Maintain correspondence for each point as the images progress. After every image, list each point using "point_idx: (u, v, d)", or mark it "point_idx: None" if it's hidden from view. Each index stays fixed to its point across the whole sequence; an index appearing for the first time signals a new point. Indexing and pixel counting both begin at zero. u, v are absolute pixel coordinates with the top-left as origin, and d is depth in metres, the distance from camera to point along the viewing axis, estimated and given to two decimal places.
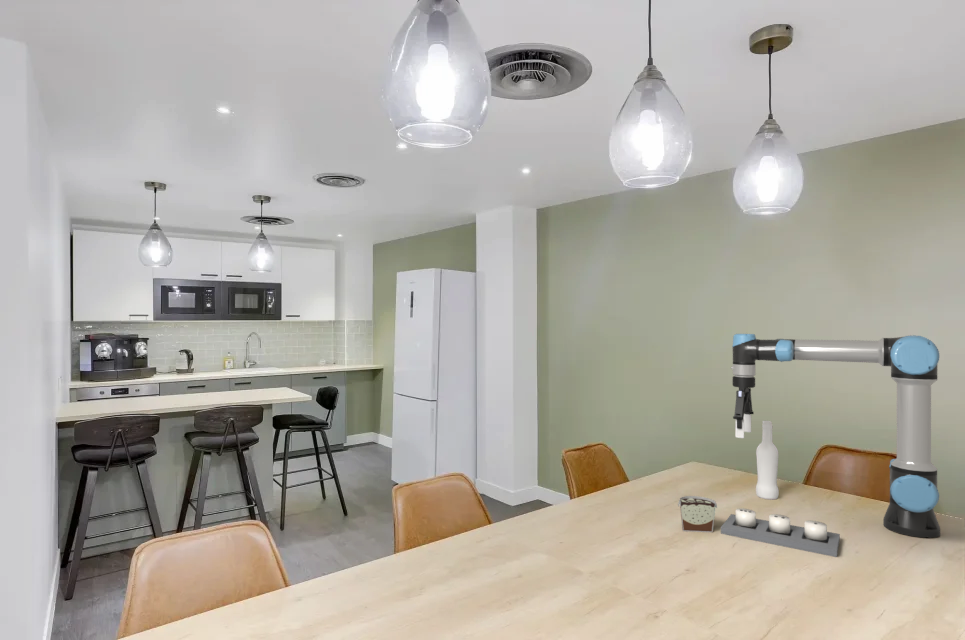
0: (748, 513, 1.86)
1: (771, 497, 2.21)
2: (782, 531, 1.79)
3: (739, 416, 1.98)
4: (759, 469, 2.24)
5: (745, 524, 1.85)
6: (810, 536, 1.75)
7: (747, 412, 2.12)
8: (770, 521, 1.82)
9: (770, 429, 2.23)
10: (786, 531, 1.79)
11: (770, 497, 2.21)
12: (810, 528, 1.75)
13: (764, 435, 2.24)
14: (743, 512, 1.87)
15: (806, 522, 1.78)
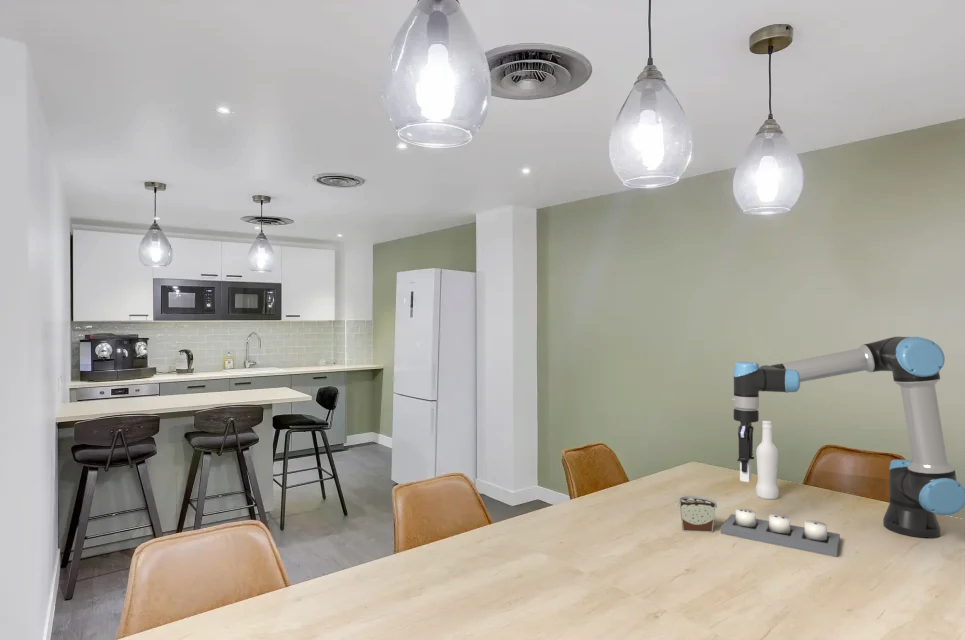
0: (748, 513, 1.86)
1: (771, 497, 2.21)
2: (782, 531, 1.79)
3: (744, 459, 1.83)
4: (759, 469, 2.24)
5: (745, 524, 1.85)
6: (810, 536, 1.75)
7: None
8: (770, 521, 1.82)
9: (770, 429, 2.23)
10: (786, 531, 1.79)
11: (770, 497, 2.21)
12: (810, 528, 1.75)
13: (764, 435, 2.24)
14: (743, 512, 1.87)
15: (806, 522, 1.78)
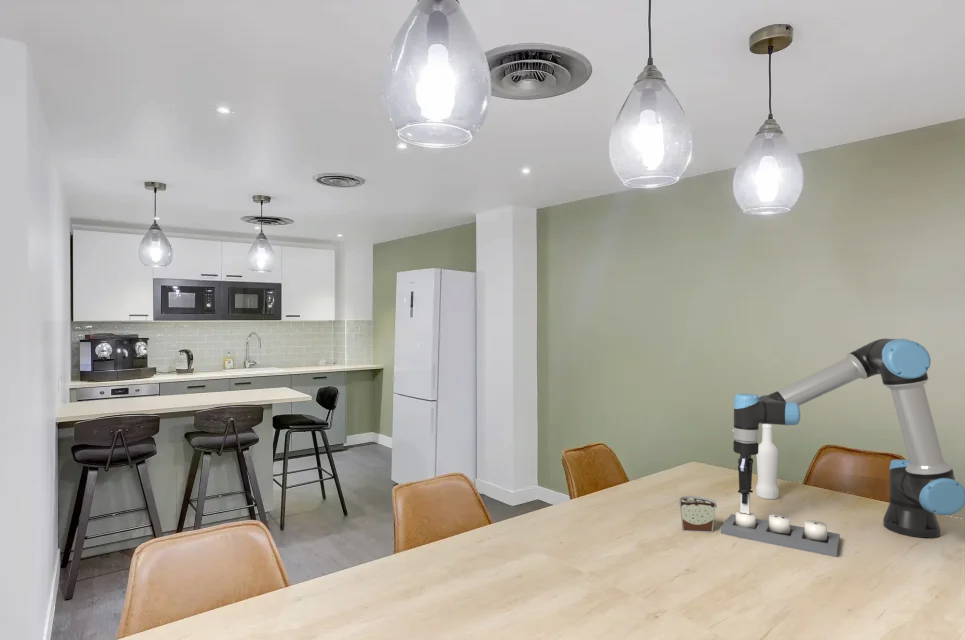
0: (748, 516, 1.86)
1: (771, 497, 2.21)
2: (782, 531, 1.79)
3: (744, 491, 1.85)
4: (759, 469, 2.24)
5: (745, 527, 1.85)
6: (810, 536, 1.75)
7: None
8: (770, 521, 1.82)
9: (770, 429, 2.23)
10: (786, 531, 1.79)
11: (770, 497, 2.21)
12: (810, 528, 1.75)
13: (764, 435, 2.24)
14: (743, 515, 1.87)
15: (806, 522, 1.78)
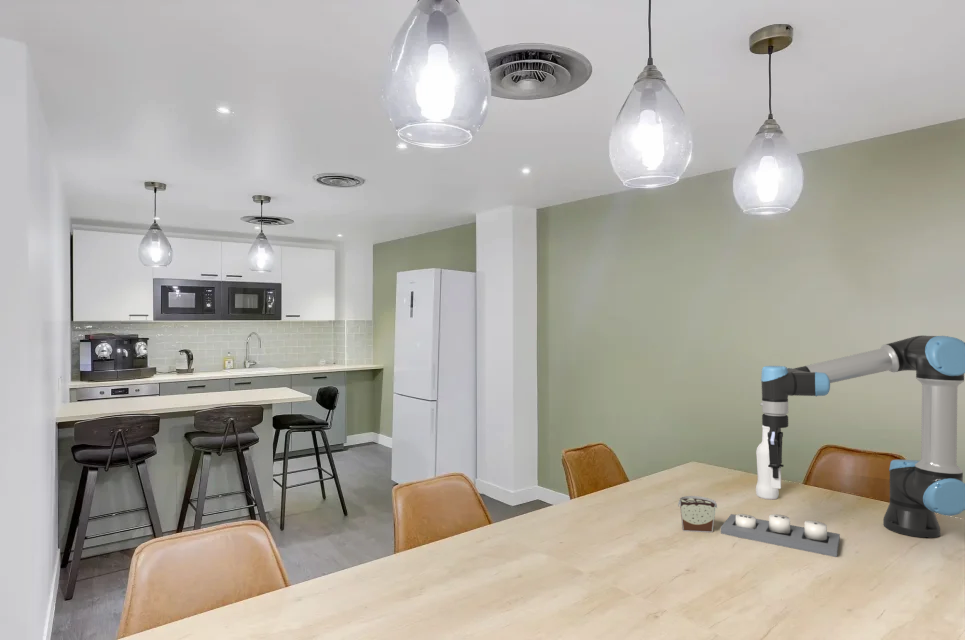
0: (748, 519, 1.86)
1: (771, 497, 2.21)
2: (782, 531, 1.79)
3: (775, 465, 1.80)
4: (759, 469, 2.24)
5: None
6: (810, 536, 1.75)
7: None
8: (770, 521, 1.82)
9: None
10: (786, 531, 1.79)
11: (770, 497, 2.21)
12: (810, 528, 1.75)
13: (764, 435, 2.24)
14: (743, 518, 1.87)
15: (806, 522, 1.78)
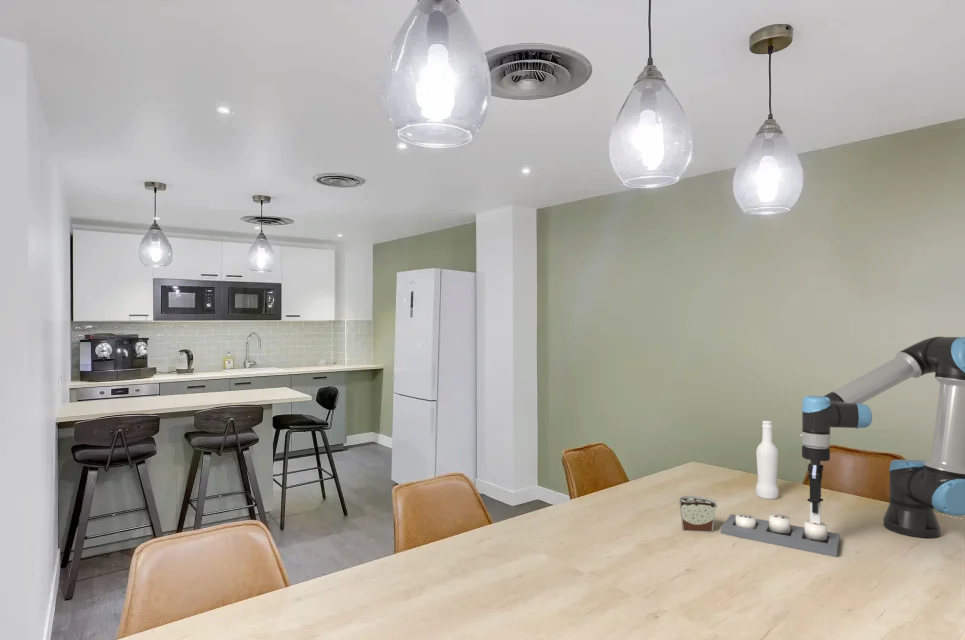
0: (748, 519, 1.86)
1: (771, 497, 2.21)
2: (782, 531, 1.79)
3: (816, 500, 1.73)
4: (759, 469, 2.24)
5: None
6: (810, 536, 1.75)
7: None
8: (770, 521, 1.82)
9: (770, 429, 2.23)
10: (786, 531, 1.79)
11: (770, 497, 2.21)
12: (810, 528, 1.75)
13: (764, 435, 2.24)
14: (743, 518, 1.87)
15: (806, 522, 1.78)
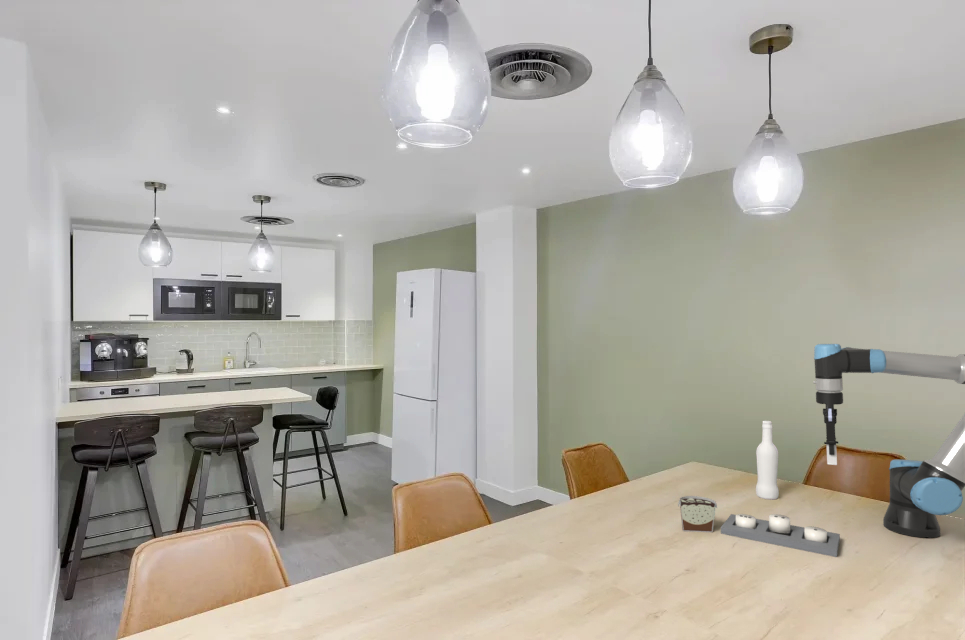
0: (748, 519, 1.86)
1: (771, 497, 2.21)
2: (782, 531, 1.79)
3: (832, 441, 1.81)
4: (759, 469, 2.24)
5: None
6: None
7: None
8: (770, 521, 1.82)
9: (770, 429, 2.23)
10: (786, 531, 1.79)
11: (770, 497, 2.21)
12: (810, 534, 1.75)
13: (764, 435, 2.24)
14: (743, 518, 1.87)
15: (806, 528, 1.78)
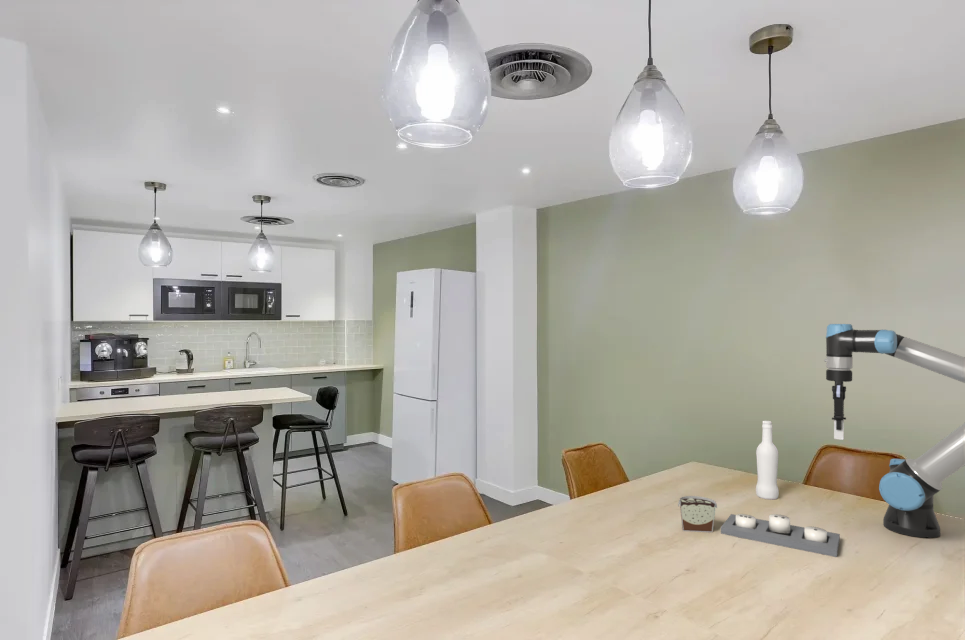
0: (748, 519, 1.86)
1: (771, 497, 2.21)
2: (782, 531, 1.79)
3: (840, 417, 1.89)
4: (759, 469, 2.24)
5: None
6: None
7: None
8: (770, 521, 1.82)
9: (770, 429, 2.23)
10: (786, 531, 1.79)
11: (770, 497, 2.21)
12: (810, 534, 1.75)
13: (764, 435, 2.24)
14: (743, 518, 1.87)
15: (806, 528, 1.78)
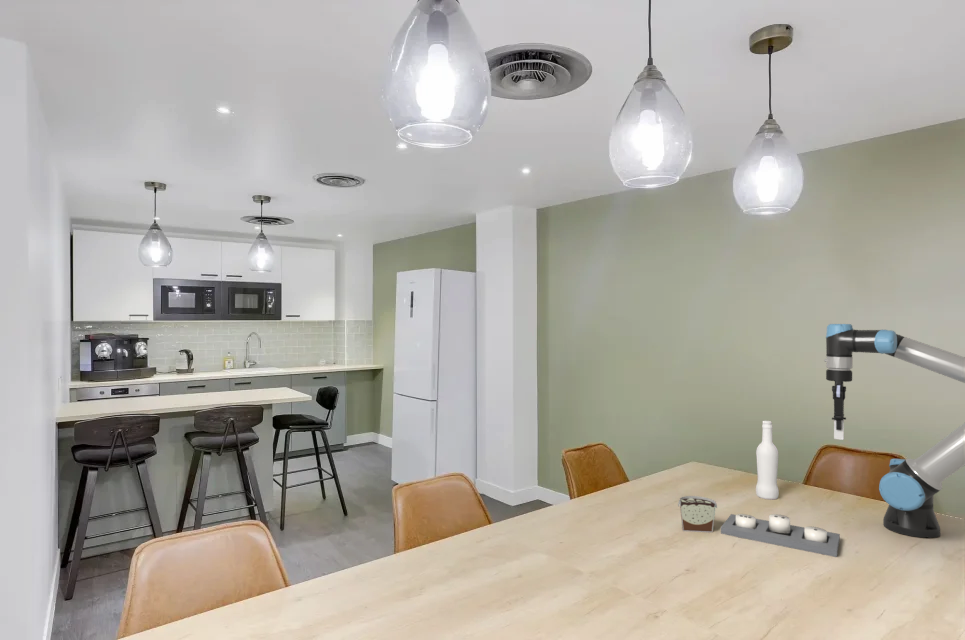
0: (748, 519, 1.86)
1: (771, 497, 2.21)
2: (782, 531, 1.79)
3: (840, 417, 1.89)
4: (759, 469, 2.24)
5: None
6: None
7: None
8: (770, 521, 1.82)
9: (770, 429, 2.23)
10: (786, 531, 1.79)
11: (770, 497, 2.21)
12: (810, 534, 1.75)
13: (764, 435, 2.24)
14: (743, 518, 1.87)
15: (806, 528, 1.78)
